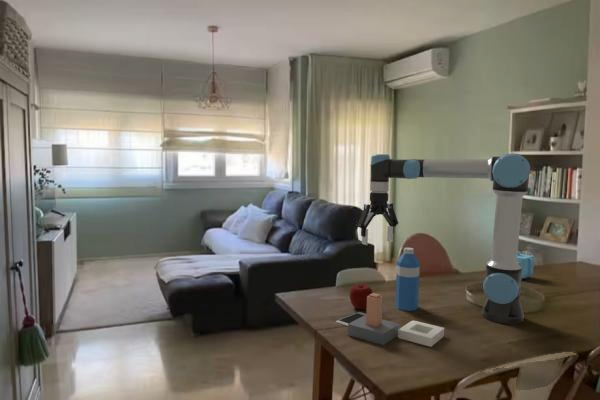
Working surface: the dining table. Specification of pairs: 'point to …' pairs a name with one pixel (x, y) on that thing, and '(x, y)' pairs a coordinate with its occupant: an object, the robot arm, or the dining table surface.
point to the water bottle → (407, 281)
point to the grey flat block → (373, 330)
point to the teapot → (526, 264)
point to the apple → (360, 296)
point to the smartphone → (350, 318)
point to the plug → (374, 310)
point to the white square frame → (421, 333)
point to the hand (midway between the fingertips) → (377, 243)
